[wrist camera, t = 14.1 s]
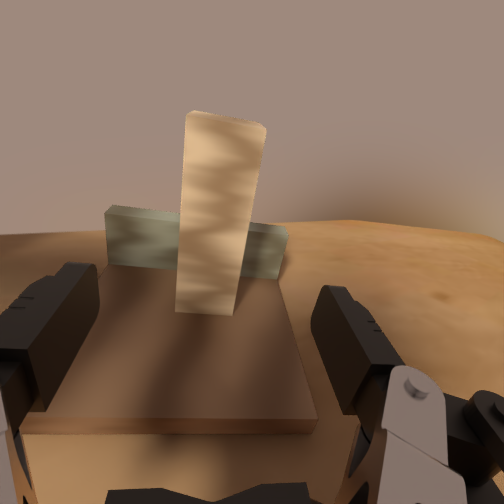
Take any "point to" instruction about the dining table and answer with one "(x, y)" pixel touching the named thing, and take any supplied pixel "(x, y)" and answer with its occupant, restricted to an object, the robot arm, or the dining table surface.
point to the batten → (215, 209)
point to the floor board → (181, 346)
